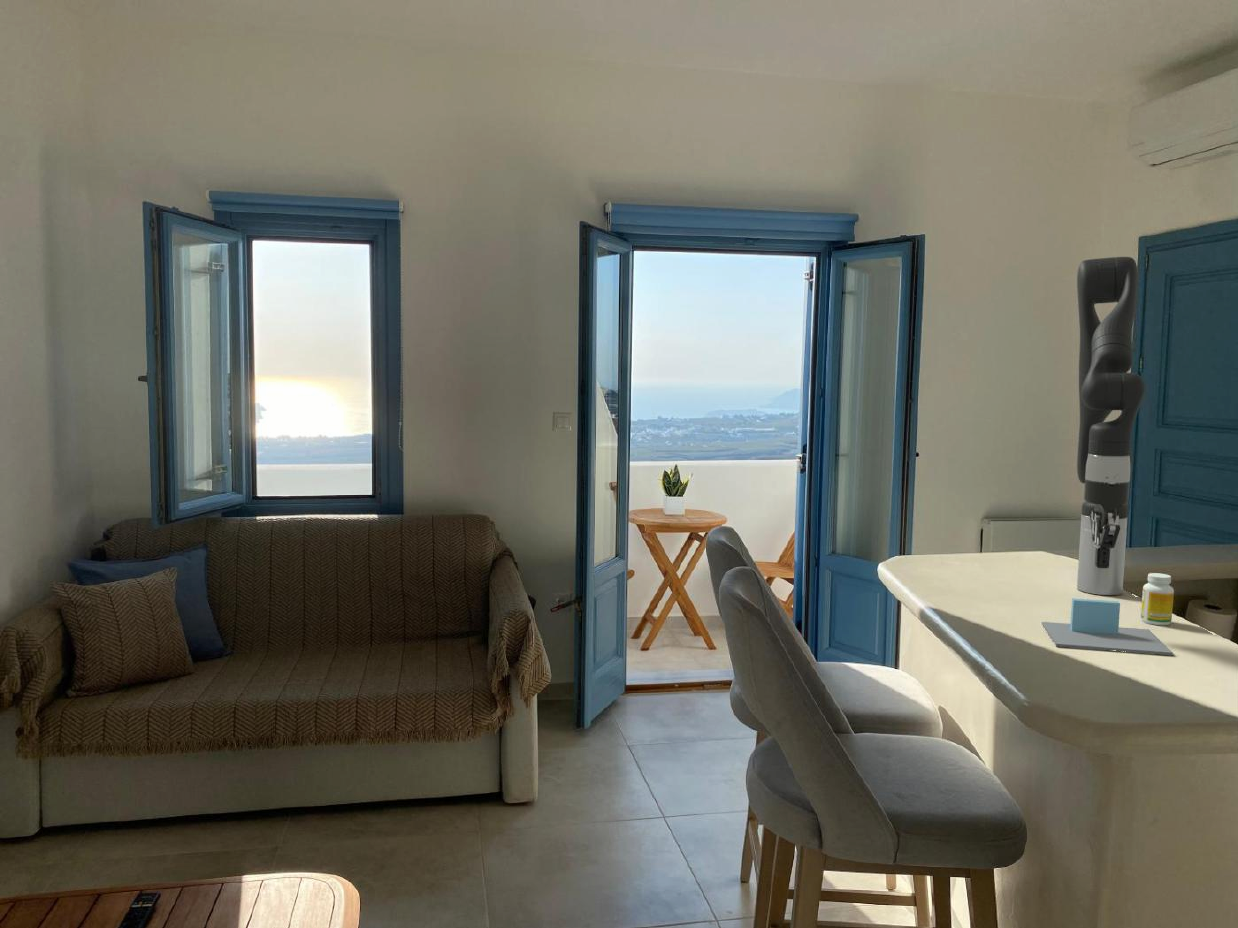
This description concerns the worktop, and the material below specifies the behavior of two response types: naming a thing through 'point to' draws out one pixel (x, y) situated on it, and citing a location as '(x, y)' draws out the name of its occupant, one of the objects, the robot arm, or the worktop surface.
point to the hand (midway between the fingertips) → (1101, 567)
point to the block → (1095, 616)
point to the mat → (1107, 639)
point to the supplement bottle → (1157, 600)
